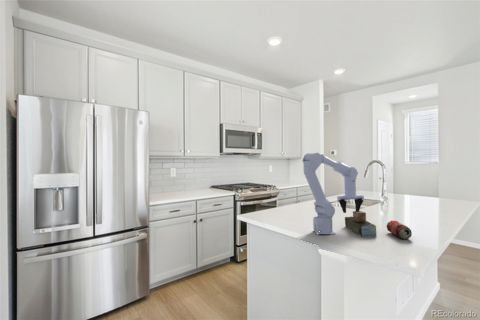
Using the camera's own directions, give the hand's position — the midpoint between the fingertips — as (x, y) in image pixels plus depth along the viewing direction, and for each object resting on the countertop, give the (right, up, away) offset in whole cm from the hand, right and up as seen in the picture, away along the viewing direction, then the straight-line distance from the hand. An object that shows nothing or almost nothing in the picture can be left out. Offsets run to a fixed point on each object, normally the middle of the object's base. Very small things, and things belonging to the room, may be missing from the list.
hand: (350, 212), depth 132 cm
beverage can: (+17, -9, -15) cm, 25 cm away
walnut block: (+2, -3, -5) cm, 7 cm away
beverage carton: (+3, -10, -5) cm, 11 cm away
